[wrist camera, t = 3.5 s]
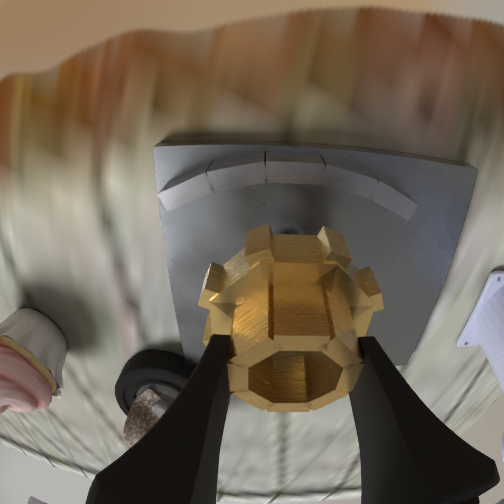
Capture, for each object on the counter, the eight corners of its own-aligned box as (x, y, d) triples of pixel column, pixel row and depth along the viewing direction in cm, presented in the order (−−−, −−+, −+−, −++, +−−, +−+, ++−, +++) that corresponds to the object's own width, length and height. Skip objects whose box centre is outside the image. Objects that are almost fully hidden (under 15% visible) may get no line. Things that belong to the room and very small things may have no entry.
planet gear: (385, 227, 12) (428, 299, 8) (351, 350, 16) (366, 422, 12) (200, 220, 12) (172, 295, 9) (212, 348, 16) (200, 422, 13)
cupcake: (63, 373, 29) (30, 447, 20) (-1, 319, 25) (-47, 387, 17) (98, 344, 25) (56, 439, 17) (19, 276, 22) (-45, 359, 13)
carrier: (469, 164, 15) (502, 186, 12) (403, 356, 24) (414, 389, 21) (159, 142, 16) (134, 160, 13) (188, 354, 25) (179, 390, 22)
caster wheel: (169, 320, 26) (243, 390, 29) (96, 374, 28) (164, 431, 31) (151, 366, 20) (244, 441, 23) (72, 418, 22) (153, 477, 24)
